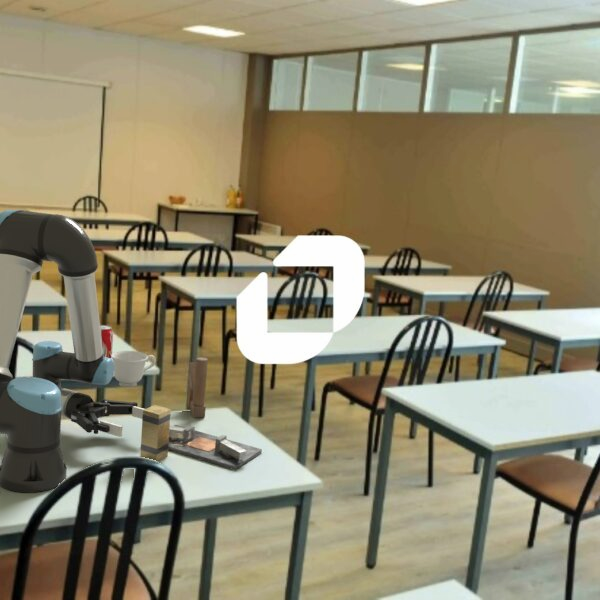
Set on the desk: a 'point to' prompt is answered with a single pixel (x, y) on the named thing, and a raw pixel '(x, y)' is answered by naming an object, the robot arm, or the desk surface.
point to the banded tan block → (155, 433)
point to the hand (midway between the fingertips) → (137, 423)
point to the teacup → (130, 367)
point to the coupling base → (210, 447)
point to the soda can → (107, 340)
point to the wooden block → (197, 387)
